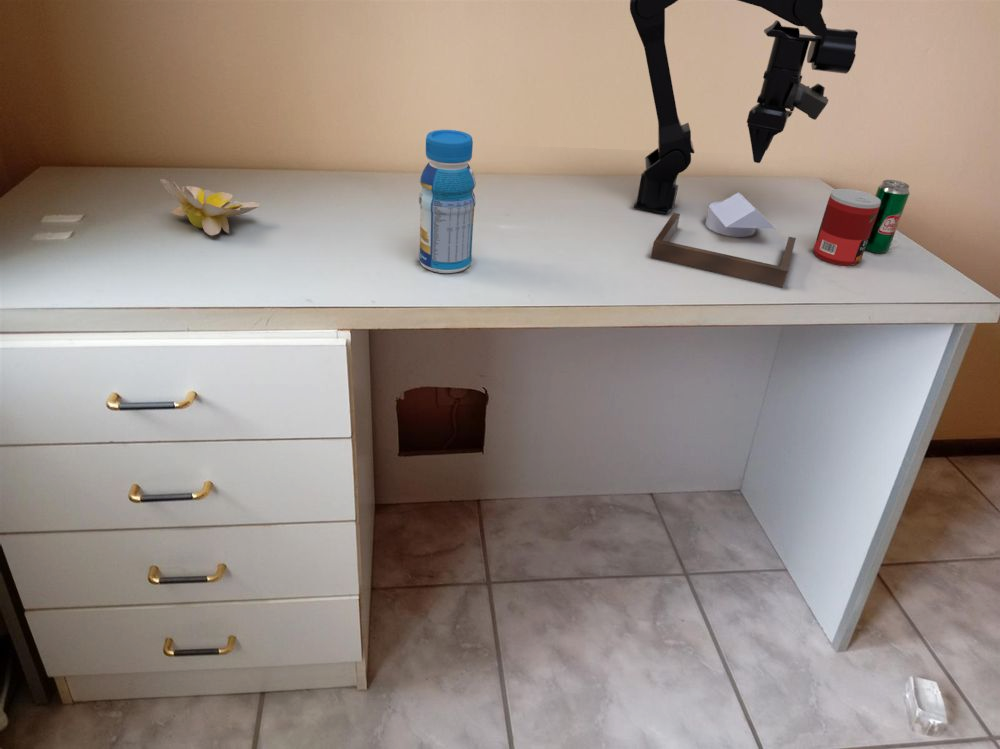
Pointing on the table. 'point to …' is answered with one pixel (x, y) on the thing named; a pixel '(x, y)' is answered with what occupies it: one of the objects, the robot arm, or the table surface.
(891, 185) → the soda can
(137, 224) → the table surface
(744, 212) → the wedge on round base
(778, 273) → the bay
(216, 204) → the decorative flower
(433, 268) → the beverage bottle
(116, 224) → the table surface
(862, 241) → the canned food
